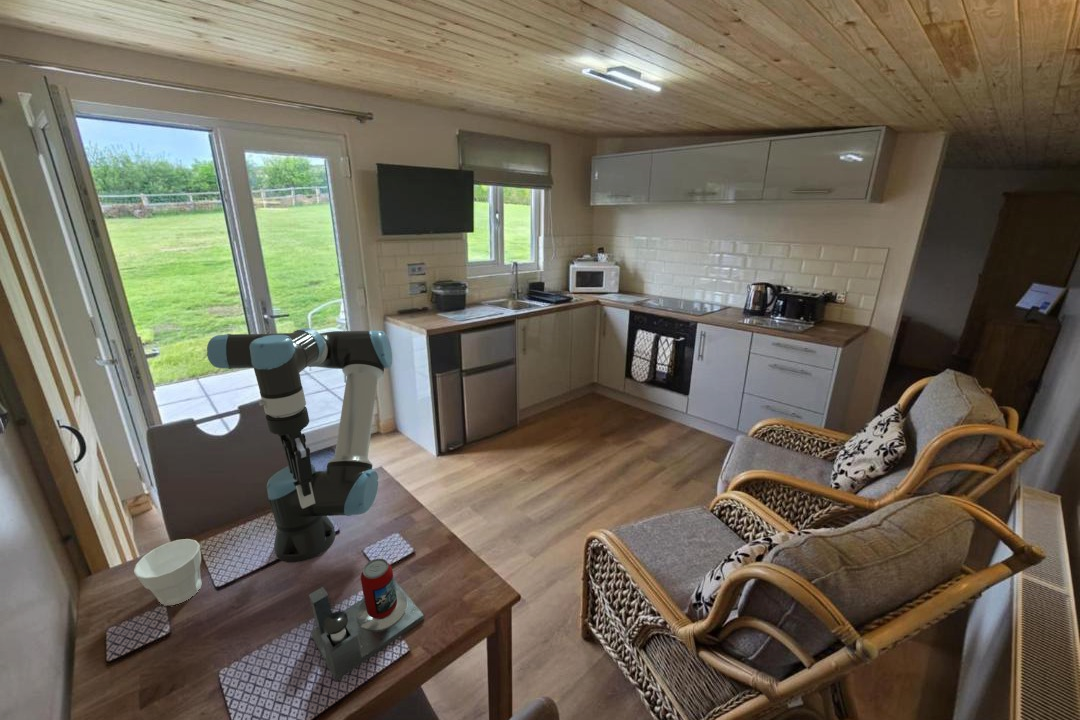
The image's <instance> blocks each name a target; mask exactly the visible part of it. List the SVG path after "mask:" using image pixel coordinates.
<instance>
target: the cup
mask: <svg viewBox="0 0 1080 720" xmlns="http://www.w3.org/2000/svg"><path fill="white" fill-rule="evenodd" d="M201 563H202V553H201V546H200V543H199V542H198V541H197V540H195V539H190V538H185V539H184V538H183V539H176V540H173V541H170V542H167V543H164V544H162V545H160V546H157V547H155V548H154V549H152V550H151V551H149V552H148V553H146V554H145V555H143V556H142V557H141V558H140V559H139V560H138V562H136V564H135V566H134V569H133V573H134V575H135V576H136V577H137V579H138V580H139V582H140V584H141V585H143V587H144V589H147V590H150V592H151V593H152V594H153V596H155V598H156V599H157V601H158V603H159V602H160V603H161V604H164V605H175V604H179V603H182V602H184V601H186V600H187V601H189V600H190V598H191V597H192V596H193V597H194V596H196V593H197V592H199V591H200V590H201V589H202V583H203V582H202V576H201ZM199 589H200V590H199ZM198 590H199V591H198ZM197 594H198V593H197ZM193 597H192V598H193ZM192 598H191V599H192ZM188 599H189V600H188ZM187 601H186V602H187ZM160 603H159V604H160ZM184 603H185V602H184ZM161 604H160V605H161ZM182 604H183V603H182ZM179 605H180V604H179Z"/></svg>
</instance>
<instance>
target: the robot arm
mask: <svg viewBox="0 0 1080 720" xmlns="http://www.w3.org/2000/svg"><path fill="white" fill-rule="evenodd" d="M206 351H207V352H206V357H207V360H208V361H209V363H210V364H211V365H212V366H213V367H214V368H216V369H227V370H233V369H234V370H235V369H237V370H238V369H253V371H254V374H255V377H256V383H257V386H258V388H259V393H260V397H261V398H260V399H262V400H260V401H259V402H258V404H259V406H260V407H263V410H264V413H265V414H266V416H265V419H266V423H267V427H268V430H269V432H270V433H271V434H273V435H278V437H279V441H280V443H281V445H282V449H283V452H284V455H285V458H286V459H285V460H286V463H287V466H286V467H284V468H282V469H280V470H278V471H277V472H275V473H274V474H273V475H272V476H271V477H270V478H269V479H268V481H267V484H266V489H267V490H266V491H267V492H266V493H267V498H268V500H269V504H270V508H271V510H272V515H273V519H274V523H275V525H276V532H275V539H274V544H273V547H274V552H275V556H276V557H277V559H278V560H280V561H281V562H284V563H290V564H296V563H300V562H306V561H308V560H312V559H314V558H315V557H318V556H319V555H321V554H323V553H324V552H325V551H326V550H328V549H329V547H331V546H332V545H333V543H334V541H335V538H336V531H335V530H336V529H335V525H334V524H333V521H331V519H330V518H329V517H331V516H332V517H333V516H337V517H338V516H347V517H350V516H355V515H364V514H365V513H367V512H368V511H369V510H371V507H372V505H373V504H374V502H375V500H376V497H377V493H378V488H379V481H378V480H379V474H378V472H377V470H375V469H373V466H374V465H373V463H372V462H371V461H370V460H369V458H368V457H369V450H370V442H371V435H372V427H373V418H374V412H375V411H374V409H375V404H376V403H375V402H376V394H377V385H378V380H379V379H381V378H382V377H383V376H384V373H385V369H386V370H387V369H389V368H391V367H392V365H393V352H392V347H391V341H390V339H389V337H388V335H387V334H386V333H385V332H384V331H383V330H373V329H368V330H341V331H340V330H334V331H326V332H322V333H320V332H318V331H317V330H315V329H312V328H309V327H305V328H304V327H303V328H300V329H297V330H294V331H293V332H287V333H285V332H283V333H281V332H280V333H279V332H278V333H275V332H274V333H239V334H237V333H235V334H233V333H227V334H218V335H214V336H212V337H211V338H210V340H209V341H208V343H207V346H206ZM314 367H316V368H324V369H334V370H335V369H336V370H342V373H343V374H344V375H345V377H346V378H345V379H346V380H345V387H344V391H343V393H344V394H343V399H342V405H341V406H342V407H341V413H340V420H339V427H338V433H337V440H336V444H335V445H336V446H335V451H334V452H335V453H334V456H333V458H331V459H330V460H329V461H327V464H326V469H325V470H316V467H315V466H314V465H313V464H312V462H311V449H310V447H308V446H307V445H306V442H307V439H306V435H305V433H302V431H303V430H304V429H305V428H306V427H307V426H308V425H309V423H310V417H309V416H310V415H309V412H308V408H307V406H306V404H307V401H306V396H305V392H304V388H303V385H302V384H303V383H302V381H301V380H302V379H301V375H300V373H301V372H302V371H304V370H305V369H306V368H314Z"/></svg>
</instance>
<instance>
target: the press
mask: <svg viewBox="0 0 1080 720" xmlns="http://www.w3.org/2000/svg"><path fill="white" fill-rule="evenodd" d="M394 583H395V590H396V597H397V605H396V607H395V609H394V610H393V611H392V612H391V613H390V614H388V615H387V616H384V617H381V618H373V617H371V616H370V615H369V614H368V613H367V609H366V605H365V600H364V597H363V598H362V599H360V600H359V601H356V603H354V604H352V605H350V606H348V607H347V608H345V609H344V610H342V611H343V612H345V613H346V614H347V618H348V623H347V626H346V627H345V629H346V634H347V638H346V639H345V640H343V641H342V642H340V643H339V644H337V645H336V646H334V647H333V644H332V639H331V635H330V634H327V633H326V632H325V630H324V626H323V624H324V621H325V619H326V618H327V617H328V616H329V615H330V614H332V613H333V610H332V606H331V603H330V598H329V594H328V592H327V591H326V589H325V588H324V586H322V587H320V588H318V589H316V590H315V591H313V592H311V593H310V594H308V598H309V601H310V605H311V610H312V613H313V618H314V621H315V626H316V627H314V628H312V629H311V630H310V631H309V632H310V635H311V638H312V640H313V642H314V644H315V646H316V647H317V650H318V651H319V653H320V655H321V657H322V659H323V660H324V662H325V665H326V666H327V669H328V670H329V671H330V674H331V676H332V678H333V680H334V681H335V683H336V682H339V680H341V679H342V678H344V677H345V676H347V673H348V674H350V671H351V672H353V670H354V669H357V668H358V667H359V666H360V665H362V664H363V663H365V662H367V661H368V660H369V659H371V658H372V657H373V656H375V655H377V654H378V653H379V652H381V651H382V650H383V649H385V648H386V647H388V646H389V645H390V644H392V643H394V642H395V641H397V639H399V638H400V637H402V636H403V635H404V634H406V633H408V632H409V631H410V630H412V629H414V627H416V626H417V625H419V624H420V623H422V622H423V621H424V620H425V615H424V613H423V612H422V611H421V610H420V609H419V607H418V606H417V605H416V604H415V603H414V601H413V600H412V599H411V598H410V596H408V594H407V593H406V592H405V591H404V590H403V588H402V587H401V586H400V585H399V583H398V582H397V581H396V580H395V579H394ZM344 675H345V676H344ZM343 676H344V677H343ZM340 678H341V679H340Z"/></svg>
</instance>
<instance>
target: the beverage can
mask: <svg viewBox="0 0 1080 720" xmlns="http://www.w3.org/2000/svg"><path fill="white" fill-rule="evenodd" d="M393 571H394V570H393V567H392V565H391V564H390V563H389V562H388V561H387V560H386V559H384V558H374V559H372V560H370V561H368V562H367V563H366V564H365V565H364V566H363V568H362V572H361V574H360V583H361V589H362V593H363V598H364V600H365V605H366V609H367V613H368V614H369V615H370V616H371V617H373V618H381V617H384V616H387V615H388V614H390V613H391V612H392V611H393V610H394V609H395V607H396V605H397V597H396V590H395V583H394V580H395V579H394V572H393Z"/></svg>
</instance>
